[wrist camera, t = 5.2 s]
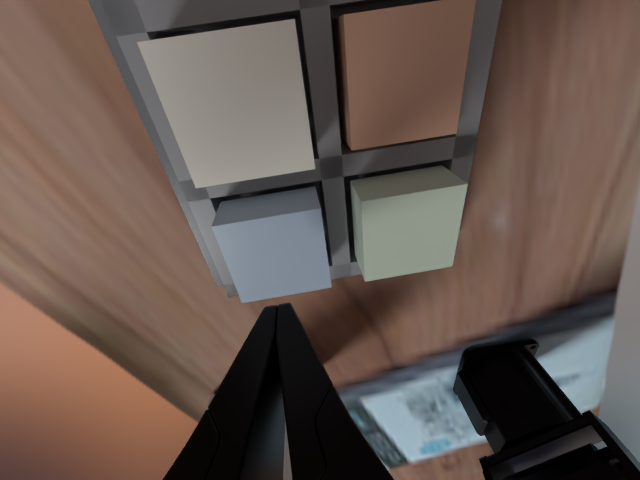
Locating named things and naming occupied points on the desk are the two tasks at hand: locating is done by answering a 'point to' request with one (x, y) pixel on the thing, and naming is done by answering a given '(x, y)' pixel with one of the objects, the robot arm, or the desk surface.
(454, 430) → the desk surface
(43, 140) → the desk surface
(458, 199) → the sage key
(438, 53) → the terracotta key
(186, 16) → the keypad board
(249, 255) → the slate-blue key
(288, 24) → the cream key
